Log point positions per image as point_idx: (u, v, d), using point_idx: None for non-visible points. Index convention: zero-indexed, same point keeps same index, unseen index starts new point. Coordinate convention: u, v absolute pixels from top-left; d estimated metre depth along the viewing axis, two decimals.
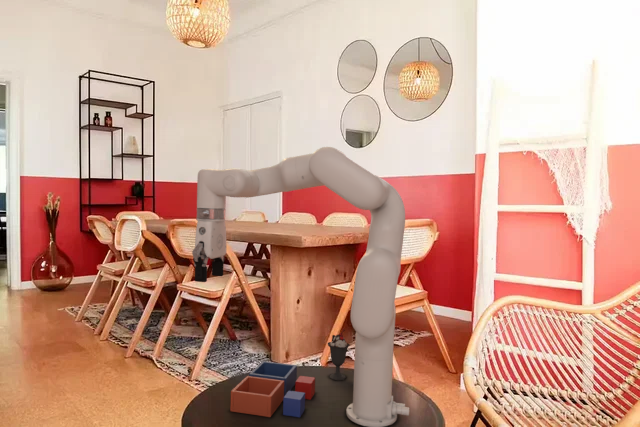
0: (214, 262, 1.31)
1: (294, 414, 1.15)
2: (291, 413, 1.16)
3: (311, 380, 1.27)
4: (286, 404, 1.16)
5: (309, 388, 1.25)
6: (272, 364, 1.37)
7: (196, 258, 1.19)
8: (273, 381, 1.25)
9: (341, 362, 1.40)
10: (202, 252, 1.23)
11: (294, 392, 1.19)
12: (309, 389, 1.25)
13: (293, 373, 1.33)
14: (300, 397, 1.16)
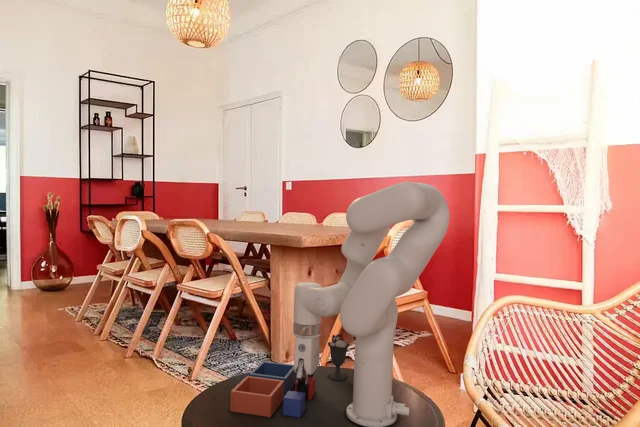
0: None
1: (294, 414, 1.15)
2: (291, 413, 1.16)
3: (311, 380, 1.27)
4: (286, 404, 1.16)
5: (309, 388, 1.25)
6: (272, 364, 1.37)
7: (300, 380, 1.22)
8: (273, 381, 1.25)
9: (341, 362, 1.40)
10: None
11: (294, 392, 1.19)
12: (309, 389, 1.25)
13: (293, 373, 1.33)
14: (300, 397, 1.16)
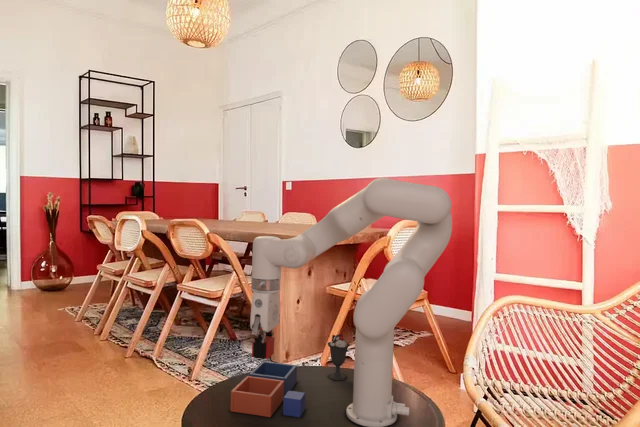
0: None
1: (294, 414, 1.15)
2: (291, 413, 1.16)
3: (269, 339, 1.21)
4: (286, 404, 1.16)
5: (266, 347, 1.19)
6: (272, 364, 1.37)
7: (256, 337, 1.15)
8: (273, 381, 1.25)
9: (341, 362, 1.40)
10: None
11: (294, 392, 1.19)
12: (266, 348, 1.19)
13: (293, 373, 1.33)
14: (300, 397, 1.16)
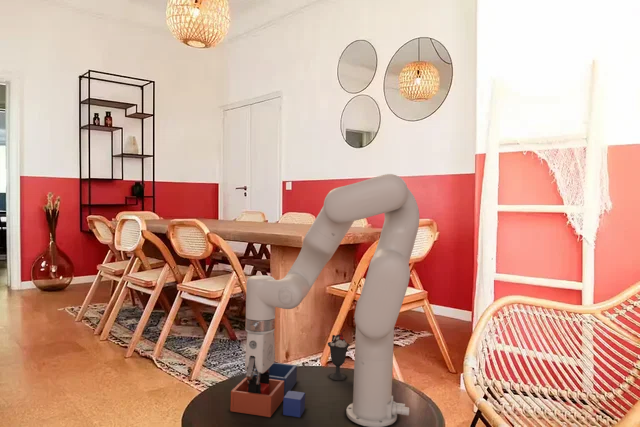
0: (259, 375, 1.24)
1: (294, 414, 1.15)
2: (291, 413, 1.16)
3: (264, 387, 1.20)
4: (286, 404, 1.16)
5: None
6: (272, 364, 1.37)
7: (251, 379, 1.15)
8: (273, 381, 1.25)
9: (341, 362, 1.40)
10: (253, 366, 1.18)
11: (294, 392, 1.19)
12: None
13: (293, 373, 1.33)
14: (300, 397, 1.16)
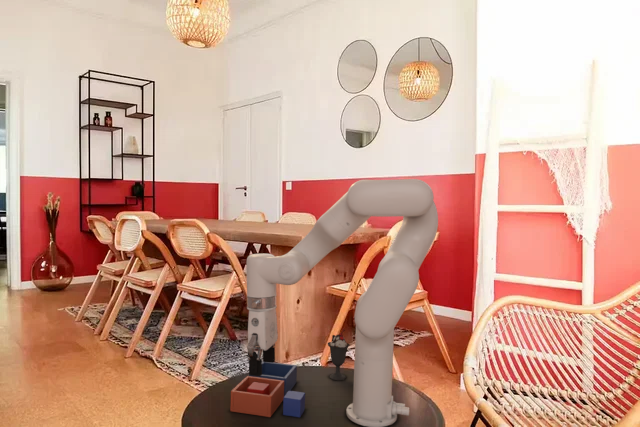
0: None
1: (294, 414, 1.15)
2: (291, 413, 1.16)
3: (264, 387, 1.20)
4: (286, 404, 1.16)
5: None
6: (272, 364, 1.37)
7: (251, 353, 1.13)
8: (273, 381, 1.25)
9: (341, 362, 1.40)
10: (255, 343, 1.17)
11: (294, 392, 1.19)
12: None
13: (293, 373, 1.33)
14: (300, 397, 1.16)
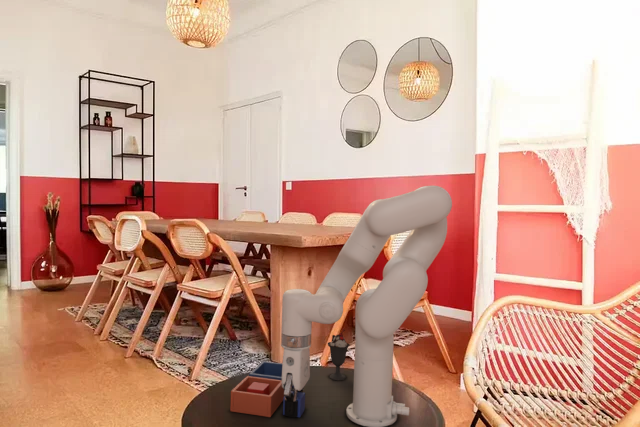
0: None
1: None
2: None
3: (264, 387, 1.20)
4: None
5: None
6: (272, 364, 1.37)
7: (288, 397, 1.12)
8: (273, 381, 1.25)
9: (341, 362, 1.40)
10: None
11: None
12: None
13: None
14: (300, 397, 1.16)
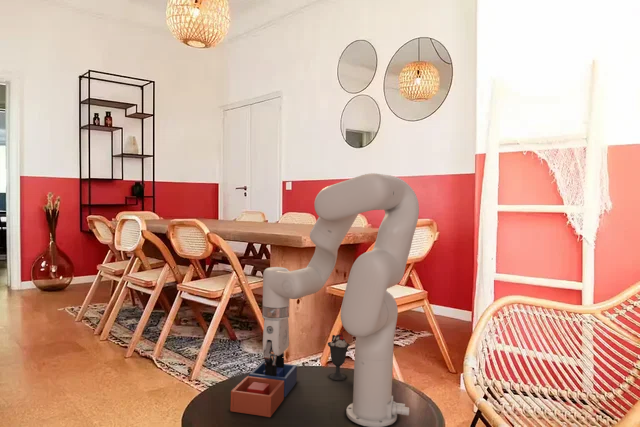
0: None
1: None
2: None
3: (264, 387, 1.20)
4: None
5: None
6: None
7: (268, 361, 1.26)
8: (273, 381, 1.25)
9: (341, 362, 1.40)
10: None
11: None
12: None
13: (293, 373, 1.33)
14: (278, 371, 1.31)
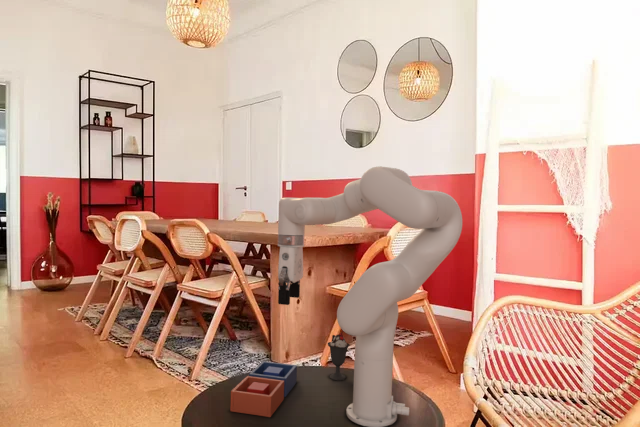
0: (291, 284, 1.38)
1: None
2: None
3: (264, 387, 1.20)
4: None
5: None
6: (272, 364, 1.37)
7: (282, 283, 1.26)
8: (273, 381, 1.25)
9: (341, 362, 1.40)
10: (284, 276, 1.31)
11: (273, 367, 1.34)
12: None
13: (293, 373, 1.33)
14: (278, 371, 1.31)
